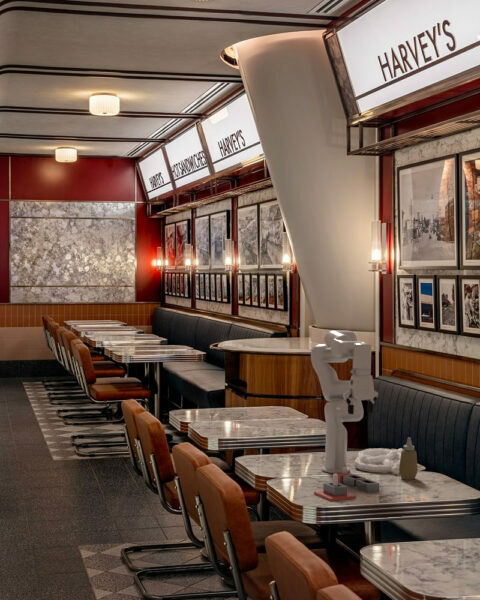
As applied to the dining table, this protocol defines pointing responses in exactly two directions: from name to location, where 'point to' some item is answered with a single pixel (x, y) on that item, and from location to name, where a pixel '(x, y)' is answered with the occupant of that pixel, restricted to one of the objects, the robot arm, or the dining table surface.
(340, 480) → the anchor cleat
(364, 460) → the pretzel
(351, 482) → the link
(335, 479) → the keeper
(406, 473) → the squeeze bottle
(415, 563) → the dining table surface
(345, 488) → the end link
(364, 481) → the link
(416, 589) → the dining table surface
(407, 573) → the dining table surface
